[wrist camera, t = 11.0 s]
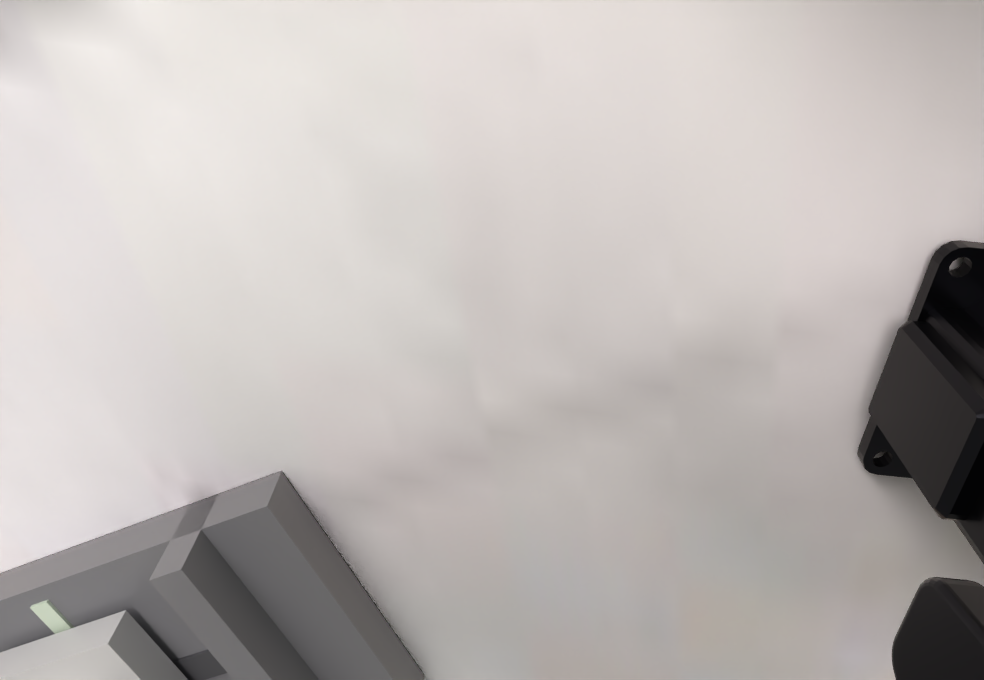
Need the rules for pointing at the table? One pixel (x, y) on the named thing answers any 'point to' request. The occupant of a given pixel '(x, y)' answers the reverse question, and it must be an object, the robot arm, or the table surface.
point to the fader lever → (91, 654)
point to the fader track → (218, 592)
